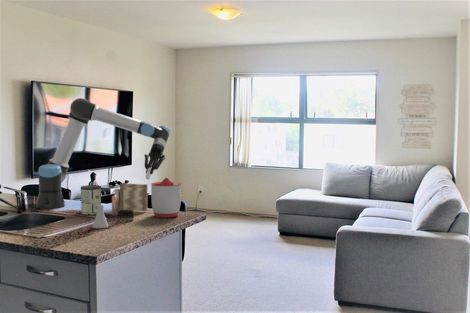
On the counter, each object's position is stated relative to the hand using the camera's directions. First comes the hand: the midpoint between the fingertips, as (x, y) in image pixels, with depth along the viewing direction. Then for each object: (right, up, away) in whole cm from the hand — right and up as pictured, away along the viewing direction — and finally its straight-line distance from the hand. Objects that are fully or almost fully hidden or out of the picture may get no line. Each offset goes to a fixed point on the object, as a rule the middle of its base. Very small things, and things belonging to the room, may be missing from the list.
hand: (147, 177), depth 261 cm
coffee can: (-27, -18, -18) cm, 37 cm away
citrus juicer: (+15, -19, -23) cm, 33 cm away
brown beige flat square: (-5, -17, -13) cm, 22 cm away
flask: (-12, -20, -51) cm, 56 cm away
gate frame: (-13, -18, -17) cm, 28 cm away
